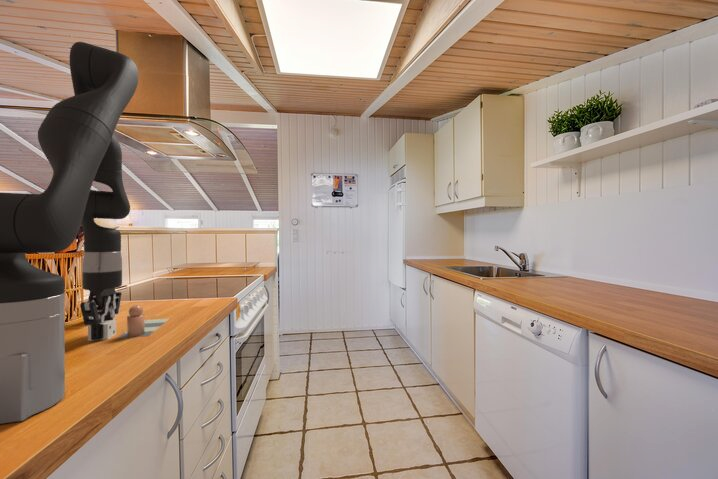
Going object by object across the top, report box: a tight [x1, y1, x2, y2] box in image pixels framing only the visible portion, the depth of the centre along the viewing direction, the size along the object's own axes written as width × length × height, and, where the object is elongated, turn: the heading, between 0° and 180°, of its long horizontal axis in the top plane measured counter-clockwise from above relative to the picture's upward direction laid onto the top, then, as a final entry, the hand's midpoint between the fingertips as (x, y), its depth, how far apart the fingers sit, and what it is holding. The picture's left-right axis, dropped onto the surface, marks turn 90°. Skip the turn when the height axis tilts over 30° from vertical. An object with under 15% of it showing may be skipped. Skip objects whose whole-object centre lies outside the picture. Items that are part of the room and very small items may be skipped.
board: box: [115, 318, 170, 340], centre depth 81 cm, size 16×7×1 cm, turn 17°
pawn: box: [126, 304, 146, 338], centre depth 75 cm, size 4×4×8 cm
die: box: [87, 319, 117, 342], centre depth 73 cm, size 4×4×4 cm
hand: (102, 336), depth 73 cm, fingers closed on die, 4 cm apart
